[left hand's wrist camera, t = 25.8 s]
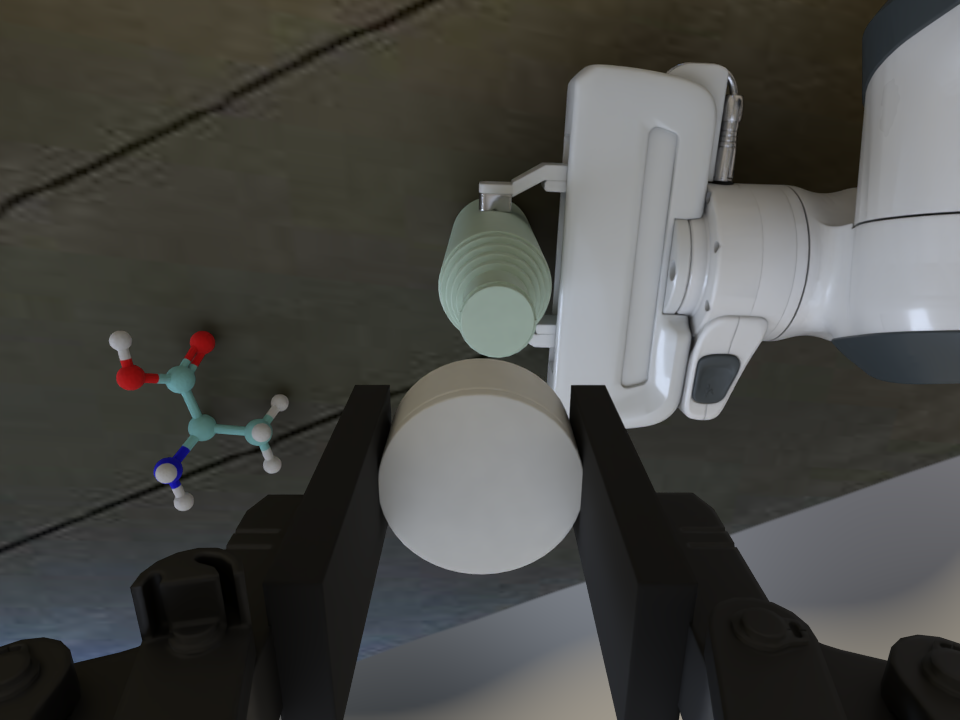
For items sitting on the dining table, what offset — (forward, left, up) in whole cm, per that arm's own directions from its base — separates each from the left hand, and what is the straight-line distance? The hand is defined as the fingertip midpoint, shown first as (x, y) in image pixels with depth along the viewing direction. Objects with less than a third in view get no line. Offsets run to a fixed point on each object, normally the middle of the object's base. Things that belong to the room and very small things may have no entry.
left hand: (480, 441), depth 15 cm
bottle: (+1, 0, -30) cm, 30 cm away
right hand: (0, 0, -24) cm, 24 cm away
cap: (0, 0, +2) cm, 2 cm away
